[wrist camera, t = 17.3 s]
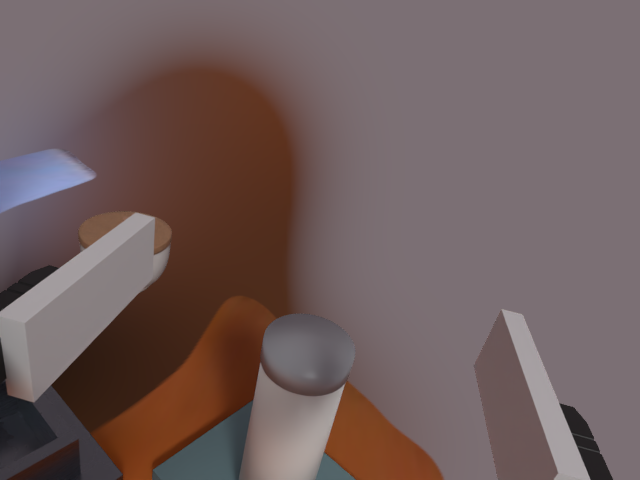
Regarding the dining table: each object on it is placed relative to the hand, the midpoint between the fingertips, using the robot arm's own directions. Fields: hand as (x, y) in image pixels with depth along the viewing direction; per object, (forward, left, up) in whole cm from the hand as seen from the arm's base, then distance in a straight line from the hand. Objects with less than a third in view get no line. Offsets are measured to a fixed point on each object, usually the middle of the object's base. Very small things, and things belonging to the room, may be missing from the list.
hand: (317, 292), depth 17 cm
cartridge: (-5, +8, -26) cm, 28 cm away
